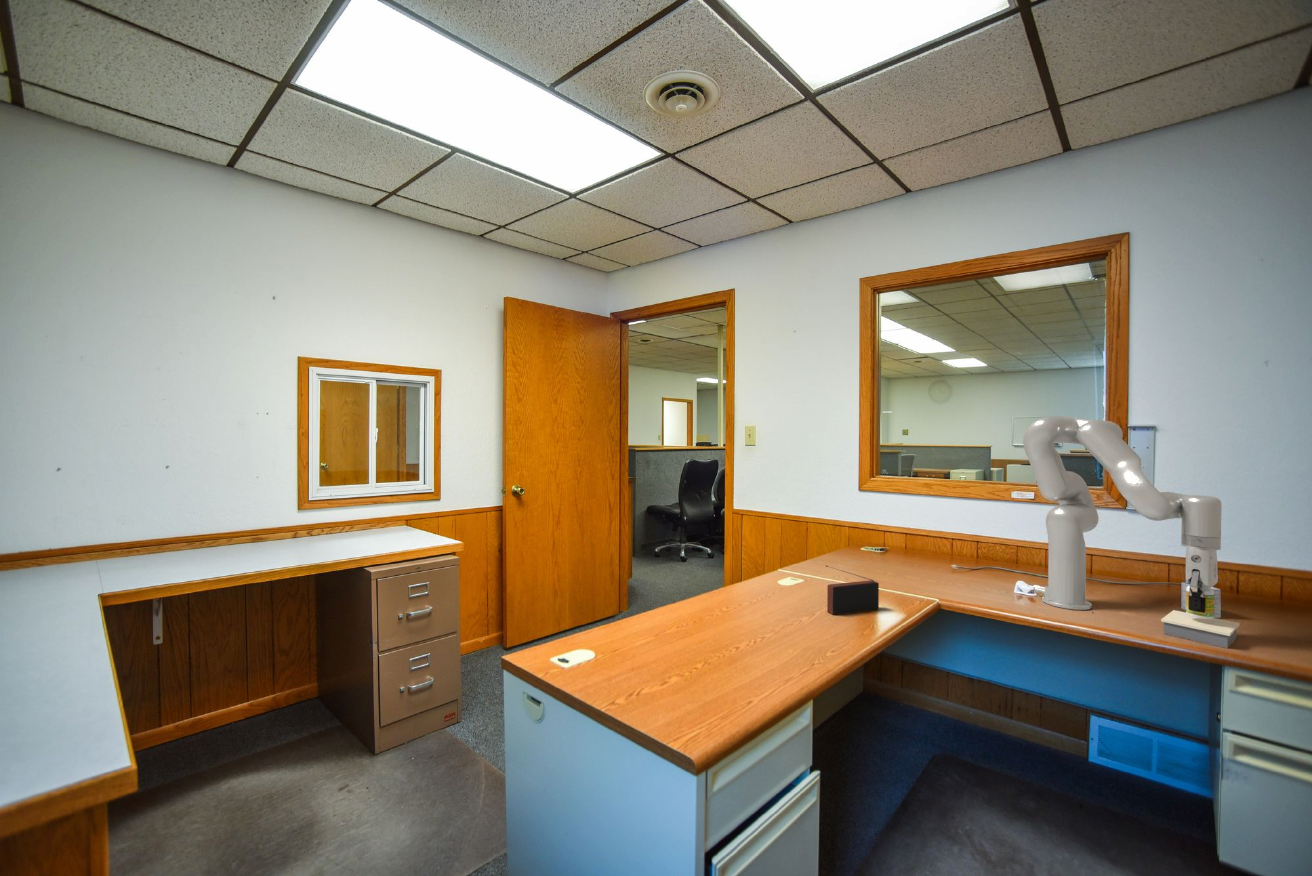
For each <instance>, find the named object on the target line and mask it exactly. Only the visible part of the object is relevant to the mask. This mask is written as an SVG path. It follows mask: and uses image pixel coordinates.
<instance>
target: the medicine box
mask: <svg viewBox="0 0 1312 876" xmlns="http://www.w3.org/2000/svg"><path fill="white" fill-rule="evenodd" d="M1188 586H1190V584H1188V583H1187V582H1186V581H1184V582H1181V596H1180V597H1181V599H1180V600H1181V602H1180V605H1181V606H1180V607H1181V610H1182V609H1183V610H1182V611H1184V612H1186V588H1187V587H1188ZM1210 589H1212V590H1213V591H1214V618H1216V619H1220V618H1221V619H1222V616H1221V615H1222V614H1221V613H1222V612H1221V610H1222V609H1221V602H1222V601H1221V599H1222V597H1221V595H1222V594H1221V589H1220V588H1217V587H1214V586H1212V587H1210Z"/></svg>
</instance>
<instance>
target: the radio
mask: <svg viewBox="0 0 1312 876" xmlns="http://www.w3.org/2000/svg"><path fill="white" fill-rule="evenodd" d="M825 567H826V568H831V569H833V570H837V571H839V572H843V573H847V574H850V575H853V576H857V577H860V578H862V579H866V580H860V581H850V582H840V583H839V582H838V583H832V584H831V583H830V584H827V588H826V589H827V597H826V598H827V600H826V601H827V604H826V607H827V608H826V609H827V613H828V614H831V615H832V616H837V615H846V614H853V613H855V614H856V613H863V612H871V611H878V610H879V608H880V607H879V606H880V605H879V604H880V603H879V602H880V601H879V599H880V598H879V596H880V595H879V592H880V587H879V586H880V585H879V584H880V583H879V582H877V581H875V580H874V579H872V578H868V577H865V576H861V575H859V574H855V573H851V572H849V571H845V570H842V569H838V568H835V567H832V566H830V565H829V566H828V565H825Z"/></svg>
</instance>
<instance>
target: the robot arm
mask: <svg viewBox="0 0 1312 876" xmlns="http://www.w3.org/2000/svg"><path fill="white" fill-rule="evenodd" d="M1123 433H1124V432H1123V430H1122V428H1121V427H1120V426H1119V425H1118V424H1117V423H1115V422H1113V421H1112V420H1111V421H1110V420H1101V419H1100V420H1099V419H1088V418H1079V417H1068V416H1043V417H1040V418H1038V419H1035V420H1034V421H1033V422H1032V423H1031V424H1030V425H1028V427H1027V428H1026V430H1025V431H1024V434H1023V437H1022V440H1023V441H1022V445H1023V449H1024V451H1025V454H1026V457H1027V459H1028V461H1029V464H1030V467H1031V470H1032V473H1033V476H1034V479H1035V481H1036V484H1037V487H1038V490H1039V493H1040V495H1041V496H1042V497H1043V498H1044V499H1046V500H1048V501H1052V502H1058V505H1056V506H1054V507H1052V508H1051V509H1050V510H1049V511H1048V512H1047V515H1046V517H1045V527H1046V532H1047V540H1048V541H1047V542H1048V547H1047V548H1048V549H1047V550H1048V567H1047V568H1048V569H1047V571H1048V573H1047V574H1048V575H1047V576H1048V577H1047V583H1048V584H1047V585H1045V586H1042V585H1040V584H1039V585H1038V584H1034V585H1033V591H1035V592H1036V593H1040V594H1041V593H1042V594H1043V595H1042V597H1041V600H1042V602H1044V603H1046V604H1047V605H1050V606H1053V607H1058V608H1062V609H1065V610H1066V609H1067V610H1073V611H1074V610H1075V611H1076V610H1077V611H1087V610H1090V609H1092V608H1093V605H1092V603H1091V602H1090V601H1088V600H1086V582H1087V581H1086V577H1087V575H1086V574H1087V569H1086V567H1087V566H1086V565H1087V549H1086V542H1085V537H1084V533H1087V532H1090V531H1093V530H1094V529H1095V528H1096V527H1097V526H1098V524H1099V513H1098V509H1097V507H1096V505H1095V502H1094V500H1093V499H1094V498H1092V495H1091V492H1090V490H1089V487H1088V485H1087V483H1086V481H1085V480H1084V479H1083V476H1081V475H1079V474H1078V473H1076V472H1074V471H1070V470H1066V467H1065V466H1064V463H1063V459H1062V458H1061V455H1060V454H1059V452H1058V451H1057V449H1056V447H1055V444H1057V443H1063V444H1064V443H1066V444H1074V445H1080V446H1081V445H1082V446H1083V447H1084V448H1085V449H1086V450H1087V451H1088V452H1089V453H1090V455H1092V456H1093V457H1094V458H1095V460H1097V462H1098V463H1099V464H1100V465H1101V466H1102V467H1103V468H1104V469H1105V470H1106V471H1107V473H1108V474H1109V475H1110V477H1111V480H1112V482H1113V483H1114V485H1115V487H1116V489H1117V490H1118V492H1119V493H1120V494H1121V496H1122V497H1123V498H1124V499H1125V500H1126V502H1128V504H1129V505H1130V506H1132V508H1134V510H1136V512H1137V513H1139V514H1140V515H1141V516H1142V517H1144V518H1146V519H1148V520H1151V521H1156V522H1161V521H1167V520H1171V519H1172V520H1173V519H1181V530H1180V531H1181V535H1180V536H1181V546H1182V547H1184V548H1186V551H1185V552H1186V553H1185V582H1187V583H1188V584H1190V589H1189V602H1188V609H1189V610H1191V611H1197V612H1202V613H1205V612H1206V598H1205V597H1204V593H1205V585H1206V586H1207V587H1209V588H1210V587H1214V586H1215V585H1216V584H1217V583H1218V582H1219V578H1218V577H1219V574H1218V569H1219V568H1218V553H1217V551H1221V550H1222V501H1221V499H1220V498H1218V497H1216V496H1211V495H1195V494H1194V495H1193V494H1191V495H1189V494H1182V493H1176V492H1173V491H1171V492H1170V491H1161V492H1160V490H1158V489H1157V488H1156V487H1155V486H1154V485H1153V483H1151V482H1150V480H1149V479H1148V478H1147V476H1145V473H1144V472H1143V469H1142V459H1141V456H1140V455H1139V454H1138V453H1137V452H1136V451H1134V449H1133V448H1132V447H1131V446H1130V445H1128V444H1127V442H1126V441H1124V439H1123V437H1124V435H1123ZM1198 583H1202V585H1198ZM1198 587H1199V588H1198ZM1200 588H1201V590H1200Z"/></svg>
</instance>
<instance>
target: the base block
mask: <svg viewBox="0 0 1312 876" xmlns="http://www.w3.org/2000/svg"><path fill="white" fill-rule="evenodd" d="M1160 622H1162V623H1163V634H1164V635H1166V634H1168V635H1167V636H1170V635H1171V636H1172V637H1175V636H1177V637H1176V638H1179V637H1183V638H1185V640H1188V639H1191V640H1190V641H1192V640H1193V641H1192V642H1197V641H1198V643H1201V644H1205V643H1206V645H1210V646H1211V645H1212V646H1215V647H1220V648H1222V649H1223V648H1224V649H1228V648H1229V647H1230V646H1231V645H1232V644H1233V643H1234V641H1235V640H1237V632H1238V631H1237V629H1238V628H1239V627H1240V626H1241V625H1240V624H1241V623H1240V622H1235V621H1229V620H1224V619H1222V618H1221V619H1220V618H1212V619H1205V618H1198V617H1194V616H1190V615H1188V614H1187V613H1186V611H1180V610H1175V609H1173V610H1172V611H1170V612H1169V613H1168V614H1166V615H1164V617H1162V618H1161V619H1160ZM1171 636H1170V637H1171ZM1183 638H1182V639H1183Z"/></svg>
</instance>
